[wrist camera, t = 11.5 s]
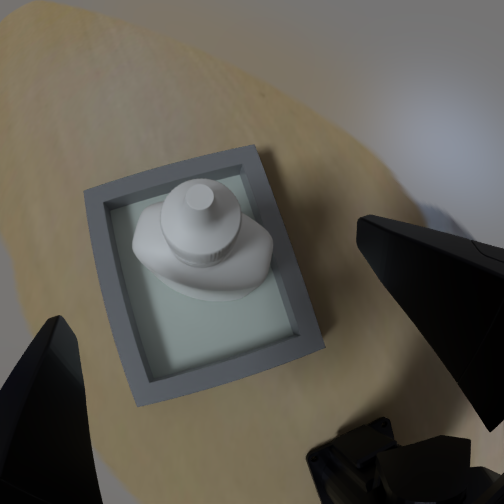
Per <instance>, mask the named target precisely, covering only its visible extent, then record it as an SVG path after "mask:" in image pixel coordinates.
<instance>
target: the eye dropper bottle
mask: <svg viewBox="0 0 504 504" xmlns="http://www.w3.org/2000/svg"><path fill="white" fill-rule="evenodd" d="M231 191H232V190H229V188H228V187H226V186H225V185H222V183H219V182H218V181H215V180H211V179H206V178H205V179H203V178H200V179H198V178H197V179H192V180H188V181H185V182H184V183H181V184H180V185H178V186H177V187H174V189H173V190H171V192H170V193H168V194H169V195H168V196H166V199H165V200H164V201H162V202H157V203H154V204H151V205H149V206H147V207H146V208H145V209H144V210H143V211H142V213H141V215H140V217H139V220H138V223H137V226H136V229H135V233H134V237H133V241H132V249H133V252H134V253H135V255H136V257H137V258H138V259H139V261H140V262H141V263H142V264H143V265H144V266H145V267H146V268H147V269H149V270H150V271H151V272H152V273H153V274H154V275H155V276H156V277H157V278H158V279H159V280H161V281H162V282H163V283H164V284H166V285H167V286H168V287H170V288H171V289H173V290H175V291H177V292H179V293H181V294H183V295H186V296H188V297H191V298H195V299H198V300H204V301H212V302H224V301H233V300H238V299H241V298H243V297H245V296H246V295H248V294H249V293H251V292H252V291H253V290H255V289H256V288H257V287H259V286H260V285H261V284H262V283H263V282H264V280H265V279H266V277H267V275H268V271H269V267H270V262H271V257H272V252H273V239H272V237H271V235H270V234H269V232H268V231H267V230H266V229H265V228H263V227H262V226H261V225H260V224H258V223H257V222H256V221H254V220H253V219H251V218H250V217H248V216H247V215H245V214H243V213H242V211H241V207H240V203H238V201H239V200H237V199H236V196H234V193H232V192H231Z"/></svg>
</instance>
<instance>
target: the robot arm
mask: <svg viewBox="0 0 504 504" xmlns="http://www.w3.org/2000/svg"><path fill="white" fill-rule="evenodd" d="M356 243H357V246H358V248H359V250H360V251H361V253H362V254H363V256H364V257H365V259H366V260H367V262H368V263H369V265H370V266H371V268H372V269H373V271H374V272H375V274H376V275H377V277H378V278H379V280H380V281H381V282H382V284H383V285H384V286H385V288H386V289H387V290H388V291H389V293H390V294H391V295H392V296H393V298H394V299H395V300H396V301H397V303H398V304H399V305H400V306H401V308H402V309H403V310H404V312H405V313H406V314H407V315H408V317H409V318H410V319H411V321H412V322H413V323H414V324H415V326H416V327H417V328H418V330H419V331H420V332H421V334H422V335H423V336H424V338H425V339H426V340H427V342H428V343H429V344H430V346H431V347H432V348H433V350H434V351H435V352H436V354H437V355H438V357H439V358H440V359H441V361H442V362H443V364H444V365H445V366H446V368H447V369H448V371H449V372H450V373H451V375H452V376H453V378H454V379H455V381H456V382H458V383H457V384H458V385H459V387H460V388H461V390H462V391H463V393H464V394H465V396H466V397H467V399H468V400H469V402H470V403H471V405H472V406H473V408H474V409H475V411H476V412H477V414H478V415H479V417H480V419H481V420H482V422H483V423H484V425H485V427H486V428H487V429H488V431H489V432H491V431H493V430H494V429H495V428H496V427H497V426H498V425H499V424H500V423H501V422H502V421H503V420H504V249H503V248H499V247H495V246H491V245H488V244H484V243H481V242H477V241H474V240H471V241H470V240H469V239H466V238H463V237H459V236H455V235H452V234H448V233H444V232H440V231H436V230H433V229H429V228H425V227H421V226H417V225H413V224H409V223H405V222H400V221H396V220H392V219H388V218H383V217H379V216H375V215H366V216H363V217H360V218H359V219H358V221H357V236H356ZM383 422H385V424H384V425H383V426H382V423H383ZM470 455H471V440H470V439H466V438H459V437H452V436H445V435H440V436H437V437H433V438H430V439H427V440H424V441H420V442H417V443H414V444H410V445H406V446H401V445H399V444H397V441H395V440H394V436H393V431H392V427H391V423H390V420H389V419H388V418H386V417H381V418H379V419H377V420H375V421H374V422H372V423H370V424H368V425H362V426H360V427H358V428H356V429H354V430H352V431H350V432H348V433H346V434H344V435H342V436H340V437H338V438H336V439H334V440H333V441H332V442H331V443H329V444H327V445H324V446H322V447H320V448H317V449H315V450H313V451H310V452H309V453H308V454H307V455H306V461H307V464H308V467H309V470H310V473H311V476H312V479H313V481H314V484H315V487H316V490H317V493H318V495H319V498H320V501H321V504H504V473H503V474H502V475H500V474H498V473H496V472H494V471H492V470H490V469H488V468H485V467H482V466H480V467H470ZM313 456H316V458H315V459H314V460H311V458H312V457H313ZM0 504H103V502H102V498H101V493H100V489H99V484H98V479H97V474H96V469H95V464H94V458H93V452H92V446H91V439H90V432H89V424H88V415H87V406H86V395H85V386H84V380H83V374H82V368H81V362H80V355H79V348H78V341H77V338H76V336H75V334H74V333H73V331H72V330H71V328H70V327H69V325H68V324H67V322H66V321H65V319H64V318H63V317H62V316H60V315H58V316H54V317H51V318H49V319H48V320H47V321H46V322H45V324H44V325H43V326H42V328H41V329H40V331H39V332H38V333H37V335H36V336H35V338H34V339H33V341H32V342H31V343H30V345H29V346H28V348H27V349H26V351H25V352H24V354H23V355H22V357H21V358H20V360H19V361H18V363H17V365H16V366H15V367H14V369H13V370H12V372H11V374H10V375H9V377H8V378H7V380H6V382H5V383H4V385H3V386H2V388H1V390H0Z"/></svg>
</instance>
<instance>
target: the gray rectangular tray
mask: <svg viewBox="0 0 504 504" xmlns="http://www.w3.org/2000/svg"><path fill="white" fill-rule="evenodd" d="M197 178H198V179H200V178H203V179H205V178H206V179H211V180H215V181H218V182H219V183H222V185H225V186H226V187H228V188H229V190H232V191H231V192H232V193H234V196H236V199H237V200H239V201H238V203H240V207H241V211H242V213H243V214H245V215H247V216H248V217H250V218H251V219H253V220H254V221H256V222H257V223H258V224H260V225H261V226H262V227H263V228H265V229H266V230H267V231H268V232H269V234H270V235H271V237H272V239H273V252H272V257H271V262H270V267H269V271H268V275H267V277H266V279H265V280H264V282H263V283H262V284H261V285H260V286H259V287H257V288H256V289H255V290H253V291H252V292H251V293H249V294H248V295H246V296H245V297H243V298H241V299H238V300H233V301H224V302H212V301H204V300H198V299H195V298H191V297H188V296H186V295H183V294H181V293H179V292H177V291H175V290H173V289H171V288H170V287H168V286H167V285H166V284H164V283H163V282H162V281H161V280H159V279H158V278H157V277H156V276H155V275H154V274H153V273H152V272H151V271H150V270H149V269H147V268H146V267H145V266H144V265H143V264H142V263H141V262H140V261H139V259H138V258H137V257H136V255H135V253H134V252H133V249H132V241H133V237H134V233H135V229H136V226H137V223H138V220H139V217H140V215H141V213H142V211H143V210H144V209H145V208H146V207H147V206H149V205H151V204H154V203H157V202H162V201H164V200H165V199H166V196H168V195H169V194H168V193H170V192H171V190H173V189H174V187H177V186H178V185H180V184H181V183H184V182H185V181H188V180H192V179H197ZM84 198H85V206H86V213H87V220H88V226H89V232H90V238H91V244H92V249H93V254H94V259H95V264H96V269H97V274H98V278H99V283H100V287H101V291H102V296H103V300H104V304H105V308H106V312H107V315H108V319H109V323H110V326H111V330H112V333H113V337H114V340H115V344H116V347H117V350H118V353H119V357H120V360H121V363H122V366H123V369H124V372H125V375H126V378H127V381H128V383H129V386H130V389H131V392H132V394H133V397H134V400H135V402H136V405H137V407H140V406H144V405H149V404H153V403H157V402H161V401H165V400H169V399H173V398H177V397H181V396H184V395H188V394H192V393H195V392H199V391H202V390H206V389H209V388H212V387H216V386H219V385H222V384H226V383H229V382H232V381H235V380H238V379H241V378H244V377H247V376H250V375H253V374H256V373H259V372H262V371H265V370H268V369H271V368H274V367H276V366H279V365H282V364H285V363H287V362H290V361H293V360H295V359H298V358H301V357H303V356H306V355H308V354H311V353H313V352H316V351H318V350H321V349H323V348H326V347H325V344H324V341H323V338H322V335H321V332H320V329H319V326H318V322H317V319H316V316H315V313H314V310H313V307H312V304H311V301H310V298H309V295H308V292H307V289H306V286H305V283H304V280H303V277H302V274H301V271H300V268H299V265H298V263H297V260H296V257H295V254H294V251H293V248H292V245H291V242H290V240H289V237H288V234H287V231H286V228H285V226H284V223H283V220H282V217H281V214H280V212H279V209H278V206H277V203H276V201H275V198H274V195H273V192H272V190H271V187H270V184H269V182H268V179H267V176H266V174H265V171H264V168H263V166H262V163H261V160H260V158H259V155H258V153H257V150H256V147H255V145H249V146H244V147H239V148H235V149H230V150H226V151H221V152H217V153H212V154H208V155H204V156H200V157H196V158H192V159H188V160H184V161H180V162H176V163H173V164H169V165H165V166H162V167H158V168H154V169H151V170H147V171H144V172H141V173H137V174H134V175H131V176H127V177H124V178H121V179H118V180H115V181H111V182H108V183H105V184H102V185H99V186H96V187H93V188H90V189H87V190H85V191H84Z"/></svg>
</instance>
